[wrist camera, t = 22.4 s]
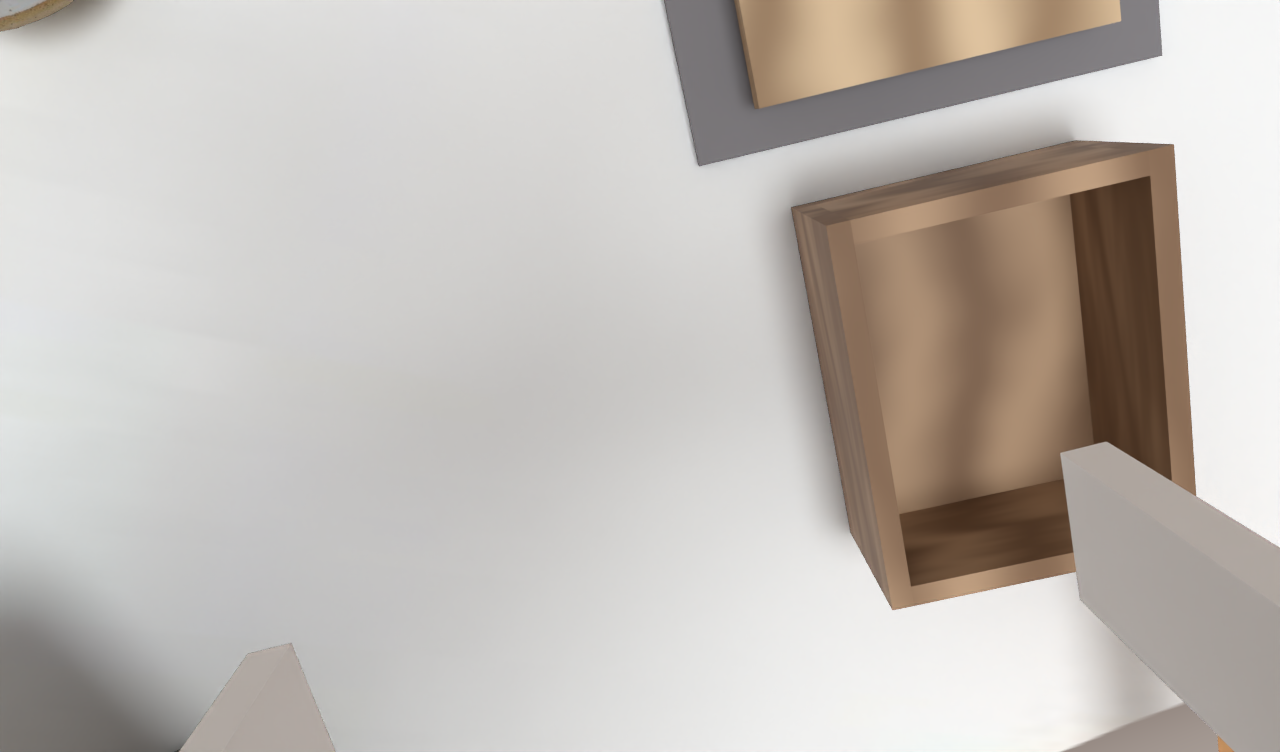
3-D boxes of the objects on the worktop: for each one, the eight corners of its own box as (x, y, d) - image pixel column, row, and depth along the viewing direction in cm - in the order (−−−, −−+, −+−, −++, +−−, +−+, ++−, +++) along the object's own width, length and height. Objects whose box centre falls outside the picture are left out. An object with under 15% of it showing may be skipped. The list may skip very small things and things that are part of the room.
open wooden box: (873, 656, 51) (928, 776, 41) (791, 207, 43) (834, 230, 34) (1150, 599, 50) (1269, 708, 40) (1112, 131, 43) (1245, 134, 33)
